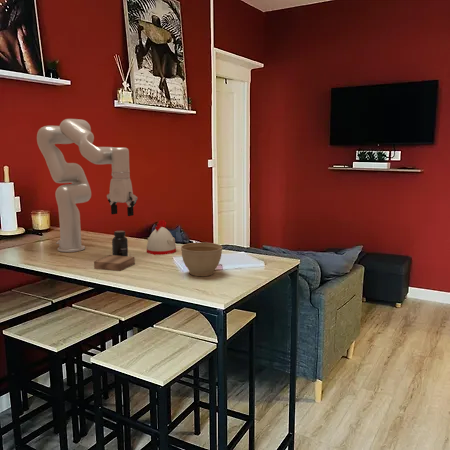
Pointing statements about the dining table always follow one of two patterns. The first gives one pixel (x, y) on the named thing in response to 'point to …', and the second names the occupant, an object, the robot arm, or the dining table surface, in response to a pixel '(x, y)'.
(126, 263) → the base block
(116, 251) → the supplement bottle
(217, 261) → the planter bowl
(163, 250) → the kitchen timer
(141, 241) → the dining table surface
